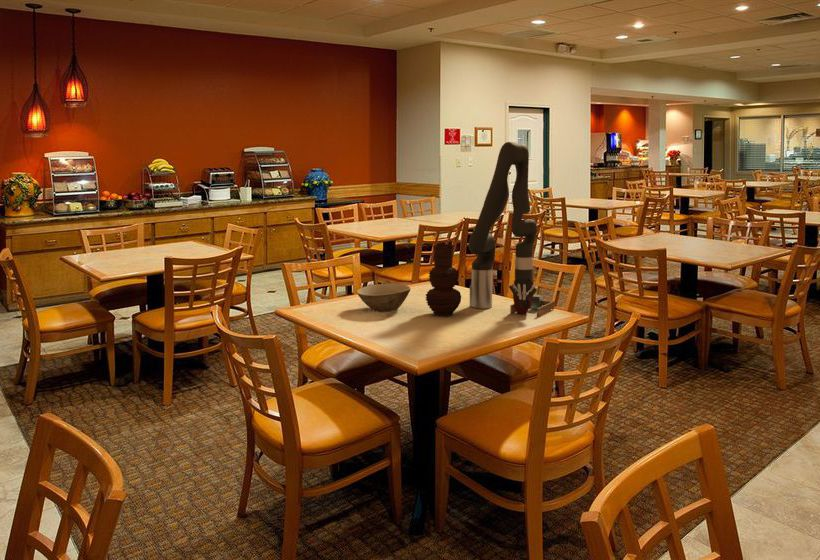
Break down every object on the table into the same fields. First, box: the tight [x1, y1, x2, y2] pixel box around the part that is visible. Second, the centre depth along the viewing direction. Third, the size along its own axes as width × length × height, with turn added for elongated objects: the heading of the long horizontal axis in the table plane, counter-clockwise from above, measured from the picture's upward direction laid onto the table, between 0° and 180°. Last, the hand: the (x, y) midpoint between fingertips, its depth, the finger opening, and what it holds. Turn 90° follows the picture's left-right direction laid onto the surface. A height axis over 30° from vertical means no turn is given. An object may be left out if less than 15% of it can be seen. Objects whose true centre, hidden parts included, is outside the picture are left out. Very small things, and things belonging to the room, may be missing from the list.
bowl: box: [356, 283, 411, 313], centre depth 304 cm, size 24×24×10 cm
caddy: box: [509, 299, 555, 318], centre depth 299 cm, size 13×17×4 cm
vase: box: [424, 243, 462, 318], centre depth 292 cm, size 15×15×30 cm
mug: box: [512, 288, 532, 315], centre depth 294 cm, size 11×8×10 cm
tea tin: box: [530, 294, 544, 311], centre depth 303 cm, size 4×4×6 cm
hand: (523, 308), depth 289 cm, fingers closed
